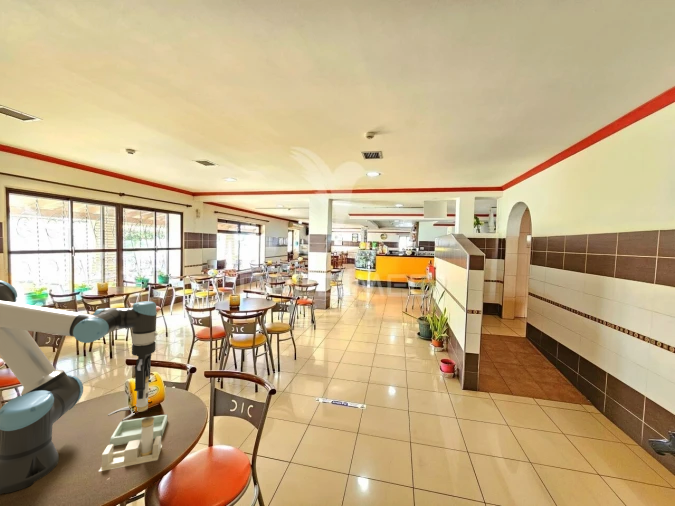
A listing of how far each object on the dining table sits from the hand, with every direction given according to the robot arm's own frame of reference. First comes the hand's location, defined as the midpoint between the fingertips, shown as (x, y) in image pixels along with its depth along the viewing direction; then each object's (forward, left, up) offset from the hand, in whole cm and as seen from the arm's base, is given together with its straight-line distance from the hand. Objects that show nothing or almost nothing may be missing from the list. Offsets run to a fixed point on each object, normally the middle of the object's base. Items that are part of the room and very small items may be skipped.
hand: (142, 403), depth 109 cm
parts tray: (0, 0, -12) cm, 12 cm away
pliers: (-8, +21, -13) cm, 26 cm away
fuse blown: (0, 0, -2) cm, 2 cm away
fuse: (+5, -14, -11) cm, 19 cm away
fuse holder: (+1, -14, -12) cm, 19 cm away
